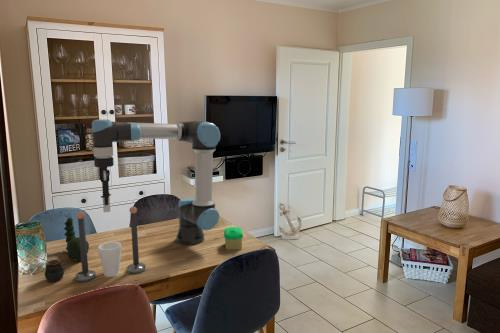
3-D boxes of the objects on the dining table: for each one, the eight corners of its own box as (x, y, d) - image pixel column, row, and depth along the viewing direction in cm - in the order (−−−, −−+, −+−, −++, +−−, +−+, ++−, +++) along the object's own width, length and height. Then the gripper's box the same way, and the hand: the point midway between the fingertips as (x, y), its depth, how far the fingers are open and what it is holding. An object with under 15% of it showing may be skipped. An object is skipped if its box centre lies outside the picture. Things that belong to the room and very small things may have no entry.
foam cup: (100, 280, 161) (98, 251, 159) (99, 271, 170) (97, 243, 167) (124, 276, 165) (122, 247, 163) (121, 267, 173) (120, 240, 171)
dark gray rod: (89, 271, 165) (84, 210, 160) (89, 274, 162) (84, 212, 157) (81, 272, 164) (76, 211, 159) (81, 276, 161) (76, 213, 156)
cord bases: (144, 264, 176) (144, 261, 176) (146, 272, 169) (146, 268, 168) (76, 275, 166) (75, 271, 165) (75, 283, 158) (74, 279, 158)
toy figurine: (61, 254, 192) (72, 267, 172) (57, 217, 190) (68, 226, 170) (81, 249, 197) (94, 262, 177) (77, 214, 195) (90, 222, 175)
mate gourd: (66, 274, 166) (64, 253, 164) (61, 283, 159) (59, 260, 157) (49, 275, 165) (46, 254, 163) (42, 284, 157) (40, 262, 155)
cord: (139, 264, 173) (136, 205, 168) (140, 267, 170) (137, 207, 165) (132, 265, 172) (128, 206, 167) (132, 268, 169) (129, 208, 164)
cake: (224, 250, 192) (224, 232, 191) (223, 242, 203) (223, 225, 201) (243, 250, 193) (243, 231, 192) (242, 242, 204) (242, 224, 202)
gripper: (94, 155, 162) (97, 208, 167) (93, 159, 150) (97, 216, 155) (112, 154, 165) (115, 206, 169) (113, 158, 153) (116, 215, 157)
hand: (106, 211), depth 162 cm, fingers closed
